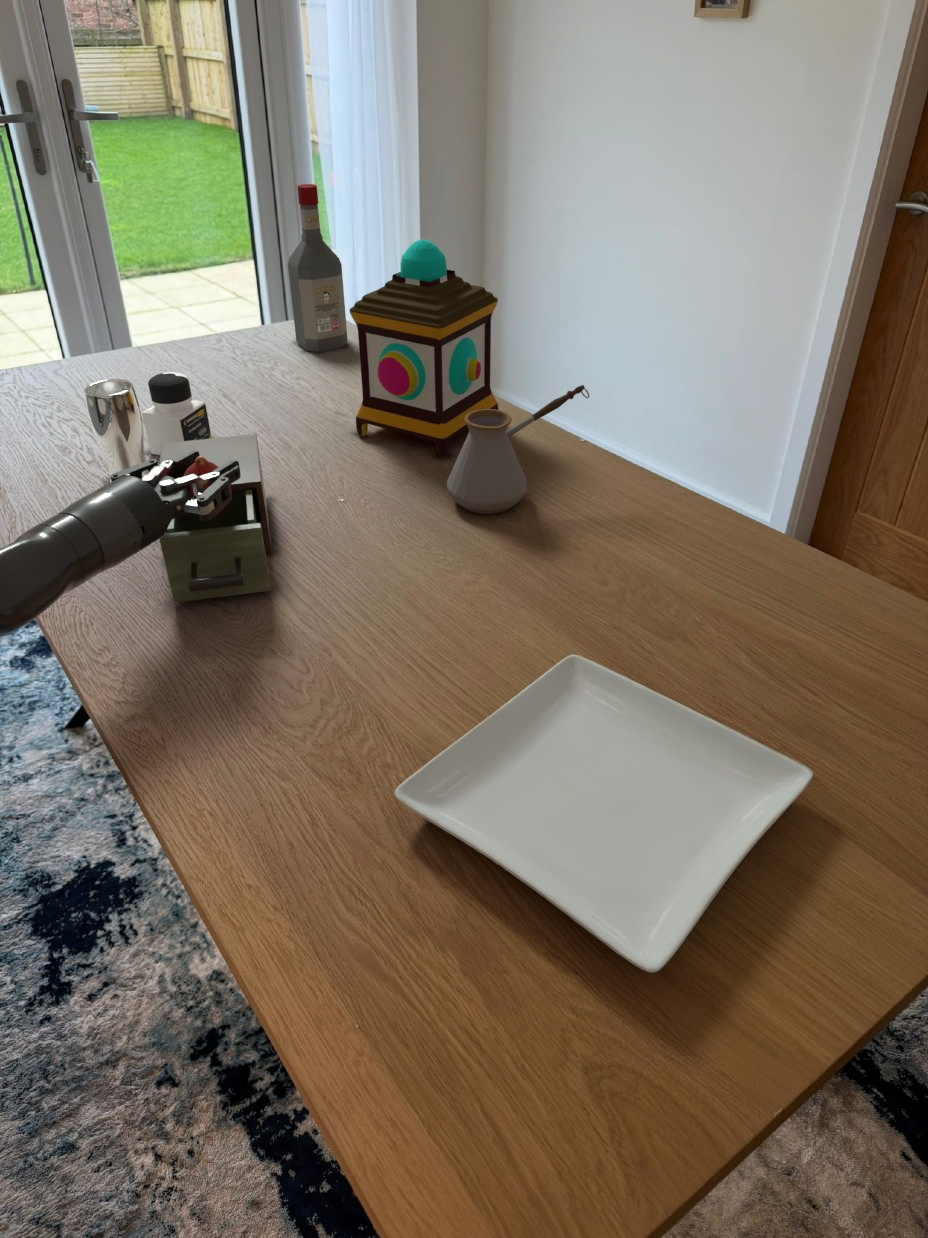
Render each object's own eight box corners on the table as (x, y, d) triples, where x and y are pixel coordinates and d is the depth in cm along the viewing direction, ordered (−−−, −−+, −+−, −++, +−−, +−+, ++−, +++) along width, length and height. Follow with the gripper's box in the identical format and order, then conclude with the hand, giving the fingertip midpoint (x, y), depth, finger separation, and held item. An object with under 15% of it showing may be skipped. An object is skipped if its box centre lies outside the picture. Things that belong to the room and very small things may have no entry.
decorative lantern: (446, 465, 138) (442, 263, 121) (344, 438, 147) (327, 245, 129) (509, 421, 152) (514, 233, 135) (413, 398, 161) (406, 218, 143)
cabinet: (272, 554, 117) (261, 481, 111) (173, 566, 115) (156, 492, 109) (266, 502, 129) (256, 433, 123) (176, 512, 126) (161, 443, 120)
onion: (183, 510, 108) (171, 449, 104) (231, 502, 110) (221, 442, 105) (189, 532, 104) (176, 469, 99) (239, 524, 106) (228, 461, 101)
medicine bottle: (189, 460, 140) (174, 387, 133) (150, 454, 142) (133, 381, 135) (213, 442, 146) (200, 370, 139) (175, 436, 147) (161, 365, 140)
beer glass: (98, 491, 132) (72, 394, 123) (123, 471, 137) (100, 376, 128) (141, 496, 130) (117, 398, 122) (165, 476, 136) (143, 380, 127)
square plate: (810, 797, 82) (819, 767, 80) (648, 1006, 65) (655, 975, 63) (570, 673, 97) (573, 645, 94) (389, 818, 80) (387, 787, 78)
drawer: (273, 614, 104) (263, 550, 99) (172, 628, 102) (157, 562, 97) (265, 535, 119) (256, 476, 114) (177, 546, 117) (163, 485, 112)
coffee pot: (467, 528, 122) (467, 425, 114) (434, 493, 131) (431, 395, 122) (600, 497, 130) (610, 398, 121) (560, 465, 138) (566, 371, 129)
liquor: (351, 347, 183) (339, 187, 165) (310, 355, 179) (292, 192, 162) (334, 335, 189) (320, 179, 172) (293, 342, 186) (275, 184, 168)
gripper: (70, 540, 98) (176, 479, 110) (170, 572, 93) (270, 504, 105) (51, 478, 94) (165, 421, 106) (156, 507, 88) (262, 444, 101)
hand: (217, 463), depth 105 cm, fingers closed on onion, 5 cm apart
